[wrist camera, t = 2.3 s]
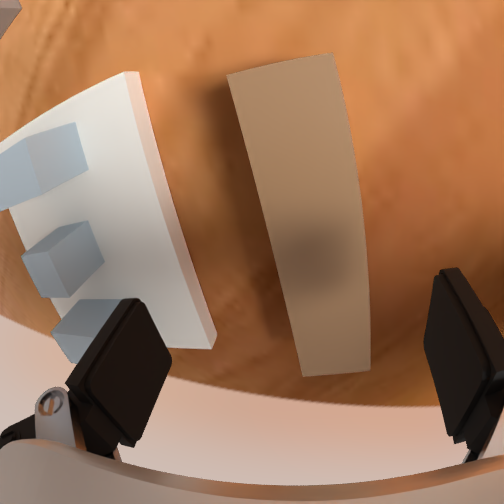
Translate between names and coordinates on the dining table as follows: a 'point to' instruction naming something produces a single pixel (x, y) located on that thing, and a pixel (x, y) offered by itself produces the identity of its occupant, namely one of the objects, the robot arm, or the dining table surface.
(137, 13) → the dining table surface
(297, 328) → the long tan plank
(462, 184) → the dining table surface
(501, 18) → the dining table surface
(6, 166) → the stand
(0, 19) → the perfume bottle
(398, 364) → the dining table surface
